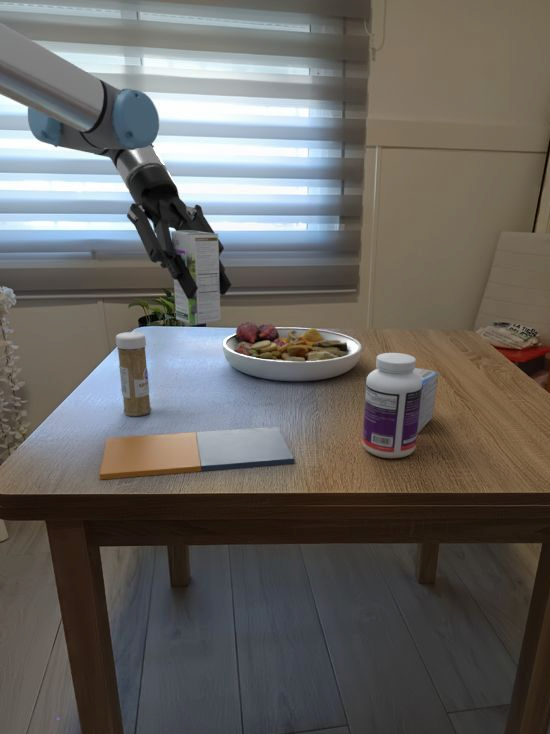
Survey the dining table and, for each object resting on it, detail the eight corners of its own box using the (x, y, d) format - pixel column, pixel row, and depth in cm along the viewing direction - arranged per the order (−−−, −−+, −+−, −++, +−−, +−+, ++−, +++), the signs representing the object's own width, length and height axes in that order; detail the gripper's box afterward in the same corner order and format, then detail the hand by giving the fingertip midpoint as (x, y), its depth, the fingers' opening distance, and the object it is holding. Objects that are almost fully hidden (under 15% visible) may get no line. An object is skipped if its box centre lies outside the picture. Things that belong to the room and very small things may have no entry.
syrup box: (174, 319, 98) (168, 230, 93) (204, 315, 102) (200, 229, 96) (192, 325, 94) (187, 233, 89) (222, 321, 98) (219, 232, 93)
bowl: (380, 359, 133) (383, 326, 130) (321, 396, 108) (322, 355, 105) (270, 341, 145) (270, 310, 142) (194, 370, 120) (192, 333, 117)
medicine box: (408, 414, 101) (413, 367, 98) (433, 419, 99) (439, 371, 96) (392, 428, 95) (397, 378, 91) (418, 434, 93) (424, 383, 89)
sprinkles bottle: (151, 416, 96) (144, 337, 91) (122, 418, 95) (114, 338, 90) (151, 406, 100) (145, 330, 95) (123, 408, 99) (116, 331, 94)
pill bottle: (404, 437, 91) (413, 349, 86) (423, 459, 84) (434, 364, 79) (355, 440, 90) (361, 350, 84) (370, 462, 82) (377, 366, 77)
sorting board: (100, 479, 75) (99, 474, 75) (107, 442, 86) (106, 437, 85) (294, 463, 81) (294, 458, 81) (278, 430, 92) (278, 426, 92)
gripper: (186, 198, 107) (244, 299, 103) (89, 195, 94) (150, 311, 90) (202, 167, 102) (264, 273, 98) (102, 160, 89) (168, 281, 85)
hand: (209, 291), depth 94 cm, fingers closed on syrup box, 6 cm apart
